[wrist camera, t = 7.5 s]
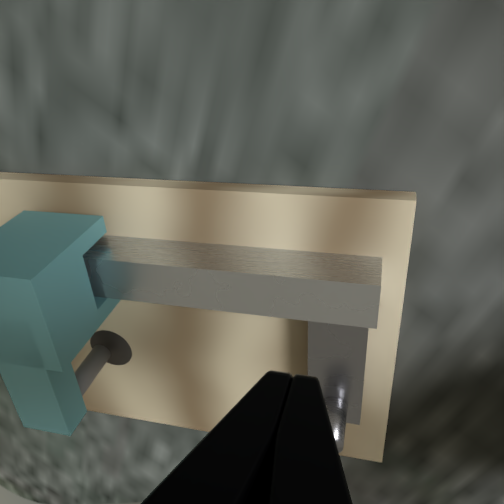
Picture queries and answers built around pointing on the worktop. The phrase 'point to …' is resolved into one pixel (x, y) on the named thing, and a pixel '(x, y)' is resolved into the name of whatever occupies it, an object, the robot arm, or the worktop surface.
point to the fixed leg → (339, 371)
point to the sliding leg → (49, 316)
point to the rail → (238, 279)
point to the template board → (220, 322)
